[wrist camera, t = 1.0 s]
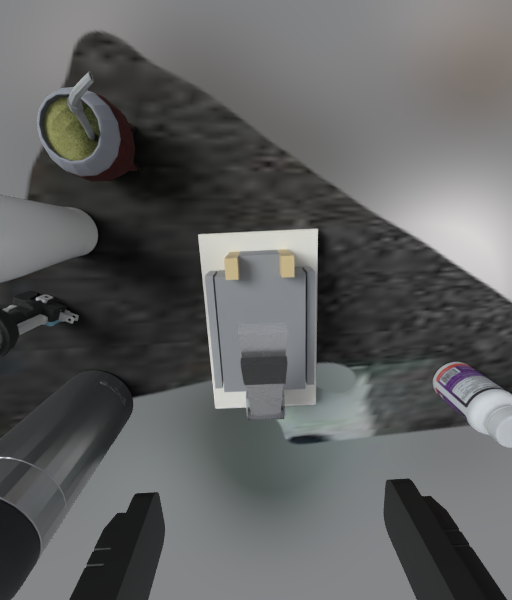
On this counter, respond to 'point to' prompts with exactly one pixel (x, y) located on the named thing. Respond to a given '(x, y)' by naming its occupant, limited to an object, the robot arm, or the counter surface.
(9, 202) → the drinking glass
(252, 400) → the latch bar
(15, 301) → the push button
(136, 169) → the mate gourd
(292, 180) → the counter surface
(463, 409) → the pill bottle
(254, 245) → the base
